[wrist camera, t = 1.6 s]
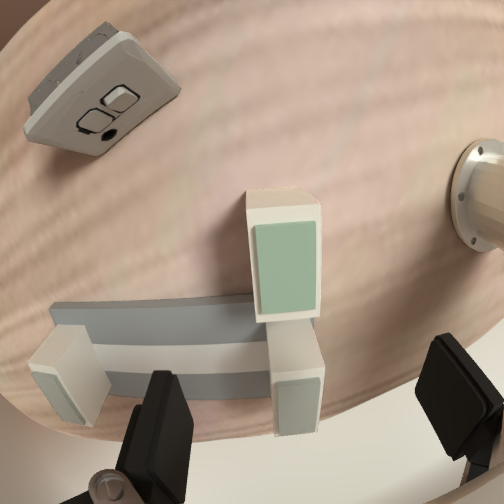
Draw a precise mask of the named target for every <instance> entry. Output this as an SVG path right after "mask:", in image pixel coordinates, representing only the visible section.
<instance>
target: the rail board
mask: <svg viewBox="0 0 504 504" xmlns="http://www.w3.org/2000/svg"><path fill="white" fill-rule="evenodd" d="M49 312H50V314H51V317H52V319H53V322H54V324H55V326H57V325H58V324H62V325H84V326H85V328H86V331H87V333H88V335H89V338H90V340H91V342H92V345H93V348H94V350H95V352H96V354H97V356H98V359H99V361H100V363H101V365H102V367H103V369H104V371H105V373H106V375H107V377H108V379H109V381H110V383H111V385H112V386H111V388H110V390H109V392H108V395H115V396H125V397H136V398H144V397H145V394H146V391H147V388H148V385H149V382H150V379H151V376H152V373H153V371H154V370H170V371H171V372H172V374H176V375H177V377H178V380H179V383H180V386H181V388H182V391H183V394H184V397H185V400H228V399H249V398H264V397H271V390H270V376H269V362H268V347H267V333H266V322H261V323H256V314H255V303H254V294H243V295H230V296H215V297H200V298H182V299H163V300H140V301H110V302H55V303H54V304H53V305H52V306H51V307H50V308H49ZM310 321H311V324H312V327H313V330H314V317H312V318H310Z"/></svg>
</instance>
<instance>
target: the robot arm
mask: <svg viewBox="0 0 504 504" xmlns="http://www.w3.org/2000/svg"><path fill="white" fill-rule="evenodd" d="M451 213H452V220H453V223H454V226H455V230H456V232H457V234H458V236H459V237H460V239H461V240H462V241H463V242H464V243H465V244H466V245H467V246H469V247H470V248H472V249H474V250H476V251H479V252H488V251H491V250H494V249H496V248H497V247H498V248H500V249H501V250H503V251H504V143H503V142H501V141H499V140H496V139H490V138H485V139H480V140H478V141H475V142H474V143H473V144H471V145H470V146H469V147H468V148H467V149H466V151H465V152H464V153H463V155H462V156H461V158H460V160H459V162H458V164H457V167H456V170H455V173H454V177H453V182H452V187H451ZM415 395H416V397H417V399H418V401H419V402H420V404H421V406H422V408H423V410H424V412H425V413H426V415H427V417H428V419H429V421H430V422H431V424H432V426H433V428H434V430H435V432H436V434H437V436H438V438H439V440H440V442H441V444H442V446H443V448H444V450H445V451H446V454H447V455H448V456H451V457H452V459H453V461H455V460H457V459H459V458H461V457H463V456H464V455H466V457H467V462H466V466H465V470H464V473H463V477H462V480H461V483H460V486H459V487H458V488H456V489H454V490H452V491H450V492H448V493H447V494H444V495H442V496H440V497H438V498H436V499H434V500H431V501H429V502H427V503H425V504H504V404H503V402H504V398H503V397H502V396H501V394H500V393H499V392H498V390H497V389H496V388H495V387H494V385H493V384H492V383H491V381H490V380H489V379H488V378H487V376H486V375H485V374H484V373H483V371H482V370H481V369H480V368H479V366H478V365H477V364H476V363H475V362H474V360H473V359H472V358H471V357H470V355H469V354H468V353H467V352H466V351H465V349H464V348H463V347H462V346H461V345H460V344H459V342H458V341H457V340H456V339H455V338H454V337H453V336H452V334H450V333H445V334H441V335H438V336H436V337H435V338H434V340H433V341H432V342H431V344H430V347H429V351H428V354H427V357H426V360H425V362H424V365H423V368H422V371H421V374H420V376H419V379H418V382H417V384H416V387H415ZM193 428H194V423H193V418H192V416H191V413H190V410H189V408H188V405H187V402H186V400H185V397H184V394H183V391H182V388H181V386H180V383H179V380H178V377H177V375H176V374H172V372H171V371H170V370H154V371H153V373H152V376H151V379H150V382H149V385H148V388H147V391H146V394H145V397H144V401H143V404H142V405H141V404H138V405H136V406H135V407H134V409H133V412H132V415H131V418H130V421H129V424H128V428H127V431H126V434H125V437H124V440H123V444H122V447H121V450H120V454H119V457H118V461H117V464H116V467H115V470H114V469H105V470H101V471H99V472H97V473H96V474H94V475H93V477H92V478H91V480H90V482H89V487H88V488H89V489H88V491H86V492H84V493H82V494H80V495H78V496H75V497H73V498H71V499H69V500H67V501H64V502H62V503H60V504H183V503H184V501H185V494H186V485H187V477H188V476H187V475H188V468H189V460H190V452H191V444H192V436H193Z"/></svg>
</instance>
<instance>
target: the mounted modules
mask: <svg viewBox="0 0 504 504" xmlns="http://www.w3.org/2000/svg"><path fill="white" fill-rule="evenodd" d="M266 333H267V347H268V362H269V376H270V390H271V401H272V412H273V423H274V434H275V437H278V436H288V435H297V434H305V433H311V432H317V431H318V424H319V417H320V409H321V402H322V393H323V385H324V375H325V364H324V361H323V358H322V354H321V351H320V348H319V345H318V342H317V339H316V336H315V333H314V330H313V327H312V324H311V321H310V318H303V319H294V320H284V321H273V322H266ZM27 363H28V365H29V367H30V368H31V370H32V372H33V373H32V374H31V375H32V376H33V378H34V380H35V381H36V383H37V384H38V386H39V388H40V389H41V391H42V392H43V394H44V395H45V397H46V398H47V400H48V401H49V403H50V404H51V406H52V407H53V408H54V410H55V411H56V413H57V414H58V415H59V417H60V418H61V419H62V421H66V422H70V423H74V424H78V425H83V426H88V427H92V428H93V427H94V425H95V422H96V420H97V417H98V415H99V413H100V410H101V408H102V406H103V404H104V401H105V399H106V397H107V395H108V392H109V390H110V388H111V386H112V385H111V383H110V381H109V379H108V377H107V375H106V373H105V371H104V369H103V367H102V365H101V363H100V361H99V359H98V356H97V354H96V352H95V350H94V348H93V345H92V342H91V340H90V338H89V335H88V333H87V331H86V328H85V326H84V325H62V324H58V325H57V326H56V327H55V328H54V329H53V331H52V332H51V333H50V334H49V335H48V337H47V338H46V339H45V340H44V342H43V343H42V344H41V345H40V347H39V348H38V349H37V350H36V352H35V353H34V354H33V355H32V357H31V358H30V359H29V361H28V362H27Z"/></svg>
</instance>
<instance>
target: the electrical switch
mask: <svg viewBox="0 0 504 504" xmlns="http://www.w3.org/2000/svg"><path fill="white" fill-rule="evenodd" d="M108 24H109V25H108ZM108 24H107V22H106V21H105V22H104V23H103V24H102V25H100V26H99V27H98V28H97V29H95V30H94V31H93V32H92V33H91V34H90V35H88V36H87V37H86V38H85V39H84V40H83V41H82V42H80V43H79V44H78V45H77V46H76V47H75V48H74V49H73V50H72V51H71V52H70V53H69V54H68V55H67V56H66V57H65V58H63V59H62V60H61V61H60V63H59V64H58V65H57V66H56V67H55V68H54V69H53V70H52V71H51V72H50V73H49V74H48V75H47V76H46V77H45V78H44V79H43V81H42V82H41V83H40V84H39V85H38V86H37V87H36V89H35V90H34V91H33V92H32V93H31V94H30V96H29V97H28V100H29V104H30V108H31V113H30V115H31V117H30V119H29V120H28V121H27V122H26V124H25V125H24V126H23V129H24V133H25V135H26V138H27V140H28V141H29V142H34V143H39V144H43V145H48V146H53V147H57V148H62V149H66V150H70V151H74V152H79V153H83V154H87V155H91V156H95V157H96V156H98V155H101V154H103V153H105V152H106V151H107V150H108V149H109V148H110V147H111V146H112V145H114V144H115V143H116V142H117V141H118V140H119V139H121V138H122V137H123V136H124V135H125V134H127V133H128V132H129V131H130V130H131V129H133V128H134V127H135V126H136V125H138V124H139V123H140V122H141V121H143V120H144V119H145V118H147V117H148V116H149V115H150V114H152V113H153V112H154V111H156V110H157V109H158V108H160V107H161V106H163V105H164V104H165V103H167V102H168V101H169V100H171V99H172V98H174V97H175V96H177V95H178V94H179V93H180V90H181V87H180V85H179V83H178V82H177V80H176V79H175V78H174V77H173V76H172V75H171V74H170V73H169V72H168V71H167V70H166V69H165V68H163V67H162V66H161V65H160V64H159V63H158V62H157V61H156V60H155V59H154V58H153V57H152V56H151V55H149V54H148V53H147V52H146V51H145V50H144V49H143V48H142V47H141V46H140V45H139V44H138V42H139V41H138V40H137V39H136V38H135V37H134V36H133V35H132V34H130V33H128V32H122V31H120V32H119V31H117V30H116V29H115V28H114V27H113V26H112V25H111V24H110V23H108ZM109 26H110V27H109ZM102 34H104V35H102ZM80 55H81V57H80ZM77 61H78V62H77ZM56 81H59V86H58V85H57V82H56ZM39 89H40V90H39ZM38 90H39V92H38Z"/></svg>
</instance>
